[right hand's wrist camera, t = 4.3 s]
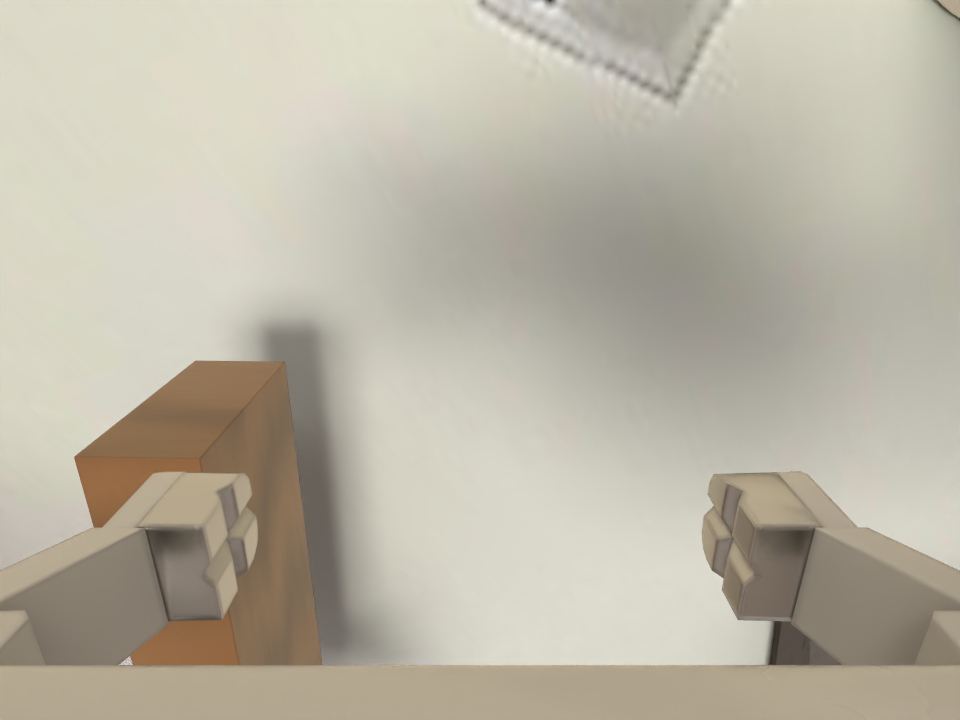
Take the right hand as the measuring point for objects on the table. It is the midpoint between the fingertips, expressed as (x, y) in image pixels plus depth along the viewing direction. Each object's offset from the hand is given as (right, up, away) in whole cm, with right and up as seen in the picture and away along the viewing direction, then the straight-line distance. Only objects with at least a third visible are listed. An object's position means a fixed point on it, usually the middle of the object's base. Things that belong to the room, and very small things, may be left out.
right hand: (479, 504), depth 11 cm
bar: (-12, -10, +25) cm, 29 cm away
